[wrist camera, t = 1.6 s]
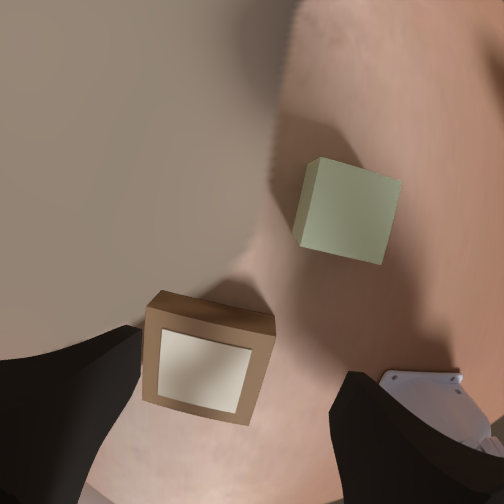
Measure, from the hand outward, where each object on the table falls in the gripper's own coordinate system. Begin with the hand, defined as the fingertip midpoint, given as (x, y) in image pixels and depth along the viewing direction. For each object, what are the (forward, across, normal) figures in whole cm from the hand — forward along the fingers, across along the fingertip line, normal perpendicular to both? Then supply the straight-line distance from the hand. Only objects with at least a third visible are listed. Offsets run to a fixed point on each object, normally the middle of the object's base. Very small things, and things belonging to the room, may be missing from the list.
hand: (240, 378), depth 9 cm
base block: (+10, +2, +6) cm, 12 cm away
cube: (+10, -4, -6) cm, 13 cm away
